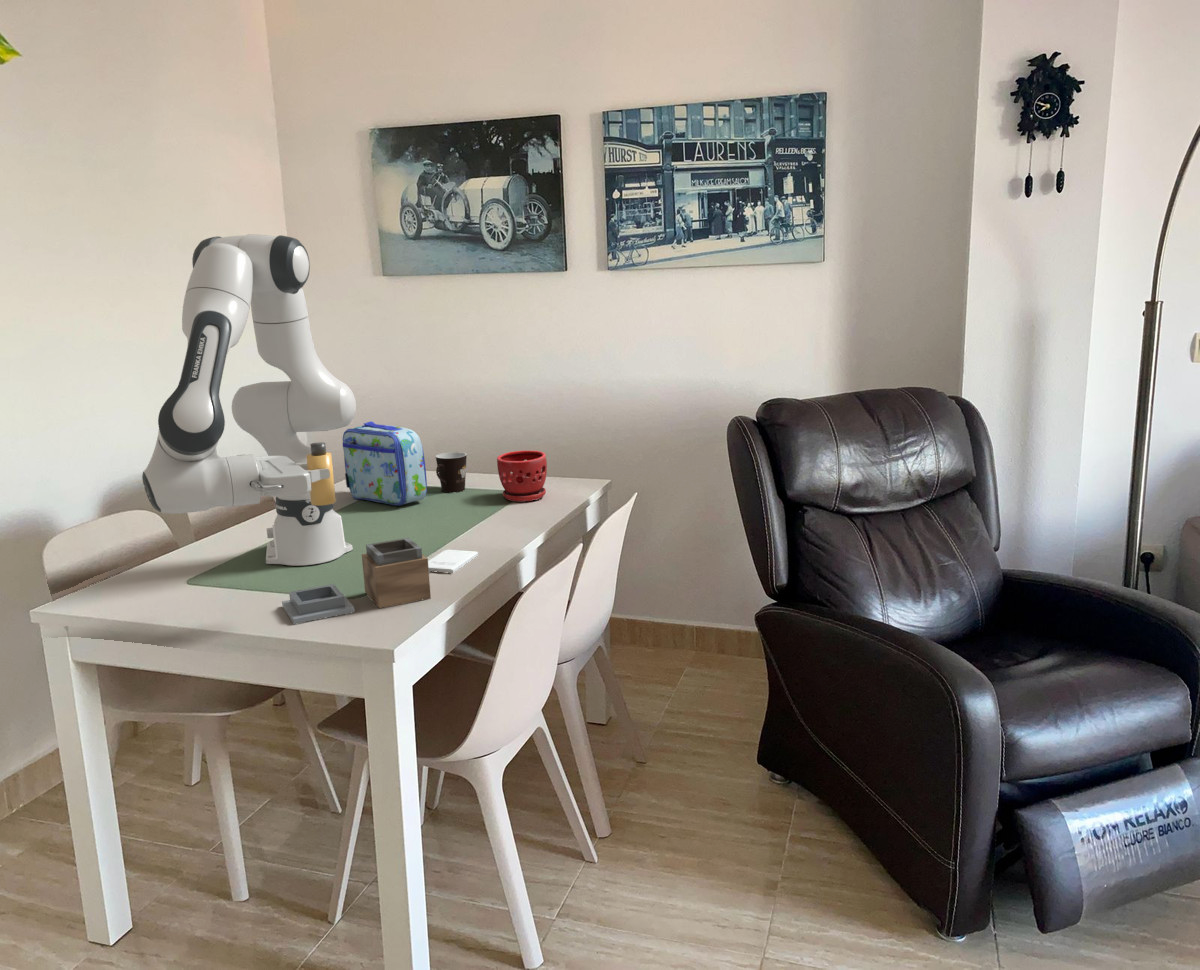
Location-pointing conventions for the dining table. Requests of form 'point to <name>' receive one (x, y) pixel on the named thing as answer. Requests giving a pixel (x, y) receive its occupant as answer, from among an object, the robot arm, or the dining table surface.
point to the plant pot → (522, 475)
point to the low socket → (316, 603)
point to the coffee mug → (451, 471)
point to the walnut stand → (395, 572)
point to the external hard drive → (450, 560)
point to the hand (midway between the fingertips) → (325, 470)
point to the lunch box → (384, 464)
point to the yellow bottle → (322, 488)
